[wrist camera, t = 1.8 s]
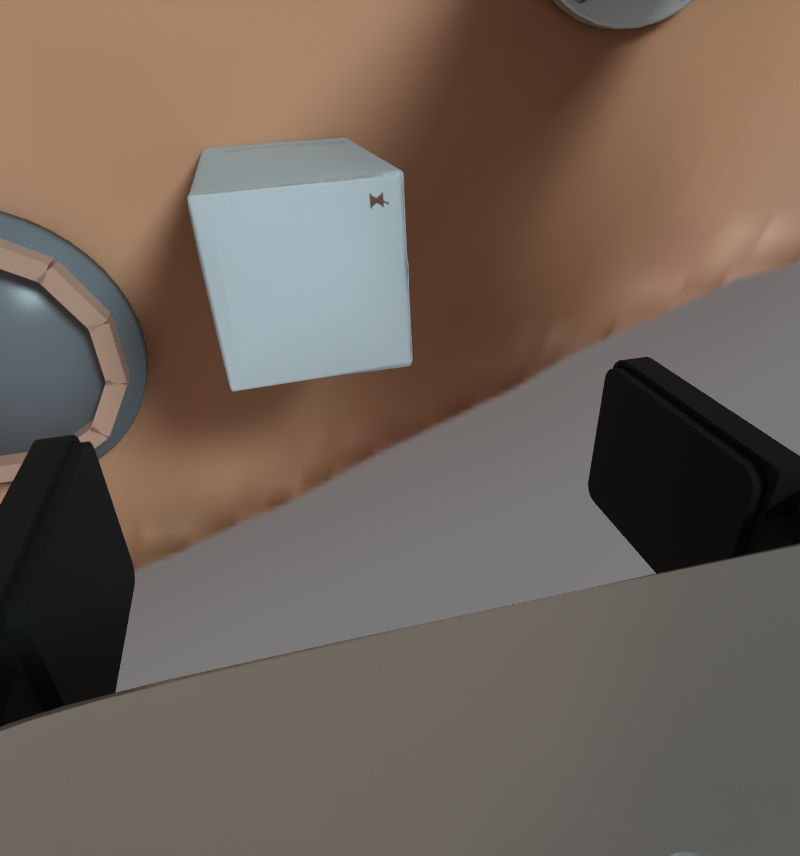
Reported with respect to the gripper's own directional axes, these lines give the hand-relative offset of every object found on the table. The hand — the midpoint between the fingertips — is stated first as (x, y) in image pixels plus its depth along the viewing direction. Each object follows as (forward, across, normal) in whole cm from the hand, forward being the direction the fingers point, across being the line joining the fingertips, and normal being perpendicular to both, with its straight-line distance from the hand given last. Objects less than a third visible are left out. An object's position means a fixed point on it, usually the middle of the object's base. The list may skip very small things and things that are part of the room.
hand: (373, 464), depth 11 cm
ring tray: (+25, +16, +6) cm, 30 cm away
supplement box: (+25, 0, 0) cm, 25 cm away
